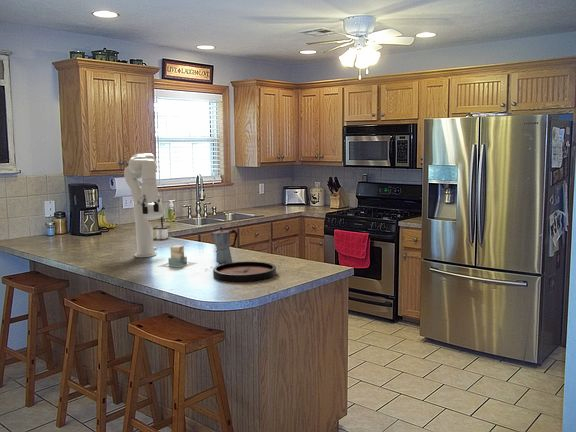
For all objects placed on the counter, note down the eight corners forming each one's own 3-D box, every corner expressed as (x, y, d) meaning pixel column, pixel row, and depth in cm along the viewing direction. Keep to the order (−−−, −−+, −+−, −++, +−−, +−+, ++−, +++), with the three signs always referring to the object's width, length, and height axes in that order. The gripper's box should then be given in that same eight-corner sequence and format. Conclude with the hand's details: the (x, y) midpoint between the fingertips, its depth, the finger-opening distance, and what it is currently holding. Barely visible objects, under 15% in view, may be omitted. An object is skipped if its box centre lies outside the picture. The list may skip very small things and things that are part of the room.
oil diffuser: (174, 241, 385) (173, 217, 383) (140, 242, 386) (139, 217, 384) (183, 235, 411) (182, 212, 408) (150, 236, 412) (149, 213, 410)
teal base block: (176, 262, 307) (175, 255, 306) (187, 263, 304) (186, 256, 304) (168, 265, 301) (168, 258, 300) (179, 266, 298) (179, 259, 297)
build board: (173, 262, 313) (173, 260, 312) (198, 264, 306) (198, 262, 306) (157, 268, 299) (157, 266, 299) (182, 270, 292) (182, 268, 292)
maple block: (176, 256, 305) (175, 245, 304) (184, 256, 303) (183, 245, 303) (171, 257, 301) (170, 246, 300) (178, 258, 299) (178, 247, 298)
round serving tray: (241, 278, 257) (200, 268, 279) (242, 286, 258) (200, 276, 279) (288, 266, 280) (246, 258, 301) (289, 274, 280) (247, 266, 302)
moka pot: (209, 262, 312) (207, 226, 310) (235, 259, 318) (234, 224, 315) (213, 265, 304) (211, 229, 301) (240, 262, 309) (239, 227, 306)
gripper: (153, 180, 317) (155, 210, 319) (133, 183, 301) (135, 214, 303) (164, 181, 314) (165, 211, 316) (144, 183, 298) (146, 214, 300)
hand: (150, 212), depth 310 cm, fingers open, 9 cm apart
